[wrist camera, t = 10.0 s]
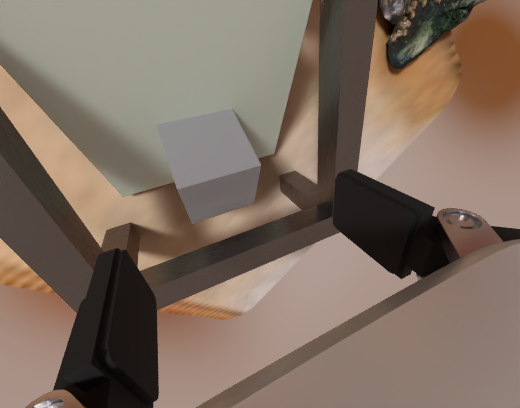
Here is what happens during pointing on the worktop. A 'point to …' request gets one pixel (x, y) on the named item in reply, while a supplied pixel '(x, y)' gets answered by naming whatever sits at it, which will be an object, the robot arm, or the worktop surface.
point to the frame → (223, 252)
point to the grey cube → (211, 163)
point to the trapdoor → (152, 72)
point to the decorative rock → (420, 24)
